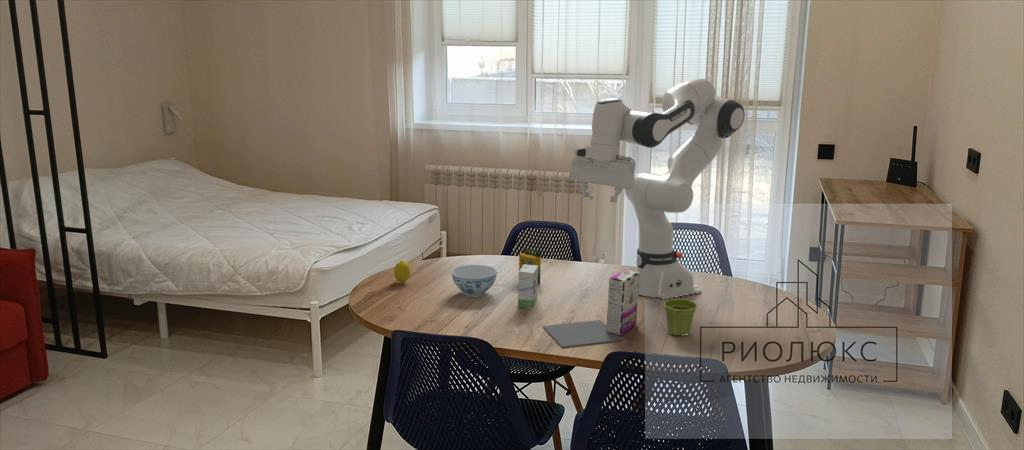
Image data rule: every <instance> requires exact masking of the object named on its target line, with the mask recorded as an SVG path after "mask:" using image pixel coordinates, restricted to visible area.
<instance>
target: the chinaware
mask: <svg viewBox="0 0 1024 450" xmlns="http://www.w3.org/2000/svg"><path fill="white" fill-rule="evenodd" d="M450 272H451V277H452V280H453V282H454V284H455V286H456V287H457V288H458V289H459V290H460V291H461V292H462V293H464V295H465V296H466V297H469V298H479V297H482V296H484V295H485V294H486V293H485V292H487V291H488V290H489V289H491V287H492V286H493V285H494V284H495V282H496V278H497V275H498V270H497V269H496V268H495V267H492V266H489V265H483V264H467V265H461V266H457V267H455V268H453V269H452V270H451V271H450Z"/></svg>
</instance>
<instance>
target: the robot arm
mask: <svg viewBox="0 0 1024 450" xmlns="http://www.w3.org/2000/svg"><path fill="white" fill-rule="evenodd" d="M594 106H595V107H594V109H593V113H592V119H591V120H592V121H591V132H592V134H591V138H590V141H589V145H587V146H583V147H579V148H575V149H574V150H573V156H574V157H573V158H572V160H571V164H570V169H569V177H570V179H571V181H575V182H576V181H577V182H579V186H580V189H581V191H582V194H581V195H582V197H583V198H589V197H590V191H591V190H588V189H587V185H588V183H589V184H595V185H601V186H606V187H613V188H614V191H615V193H614V194H613V195H610V196H609V197H610V200H609V202H611V203H617V202H618V197H619V195H620V194H621V193H622V191H623V189H624V193H625V195H626V197H627V199H628V200H629V201H630V203H631V204H632V207H633V209H634V212H635V216H636V219H637V225H638V247H637V250H636V271H637V272H640V274H639V288H638V295H640V296H644V297H648V296H651V297H650V298H656V297H659V298H658V299H660V298H664V299H663V300H669V299H668V298H671V299H673V298H672V297H675V296H680V295H685V294H692V293H696V292H700V293H701V288H700V286H698V285H697V284H696V283H694V277H693V273H692V271H691V270H689V269H688V268H687V267H685V266H684V264H682V263H681V262H679V261H678V259H679V260H681V259H683V257H684V254H683V253H682V252H680V251H676V250H675V249H673V245H674V227H673V224H672V223H671V222H670V220H669V219H668V218H667V216H666V213H669V214H670V213H671V214H672V213H675V214H677V213H678V214H679V213H684V212H687V210H688V209H689V208H690V207H691V206H692V203H693V200H694V190H693V188H692V187H693V184H694V182H695V180H696V179H697V178H698V177H699V175H700V174H702V172H703V171H704V170H705V169H706V168H707V167H708V166H709V165H710V163H712V161H713V160H714V159H715V158H716V156H717V155H718V154H719V152H720V150H721V148H722V146H723V139H726V138H729V137H731V136H732V134H735V133H736V132H737V131H738V130H739V129H740V128H741V127H742V125H743V124H744V120H745V115H746V114H745V108H744V106H743V105H742V104H741V103H740V102H738V101H736V100H733V99H728V98H725V97H722V96H719V95H716V89H715V87H714V85H713V83H712V82H711V81H710V80H709V79H706V78H694V79H691V80H687V81H683V82H681V83H678V84H676V85H674V86H672V87H670V88H669V89H668V90H666V91H665V92H664V94H663V95H662V100H661V107H662V108H661V109H662V111H663V112H662V113H658V112H645V111H639V110H633V109H632V108H629V107H627V105H625V104H624V102H623V100H622V99H621V98H618V97H604V98H601V99H599V100H598V101H596V104H595V105H594ZM685 124H689V125H693V126H696V127H697V128H696V130H695V132H694V133H693V134H692V135H690V136H689V137H688V138H687V139H686V140H684V141H683V142H682V143H681V145H680V146H678V147H677V148H676V149H675V151H674V152H672V154H670V155H669V157H668V159H667V169H668V171H667V172H666V173H665V174H662V175H661V174H655V173H651V172H637V173H635V171H636V167H637V166H636V161H635V160H634V159H633V158H632V157H630V156H625V155H620V152H621V151H620V150H621V142H623V143H629V144H634V145H639V146H642V147H644V148H645V147H646V148H650V149H652V148H655V147H657V146H659V145H660V144H661V143H662V142H663V141H664V140H665V139H666V138H667V137H668V136H669V135H670V134H672V133H673V132H674V131H676V130H677V129H679V128H681V127H682V126H683V125H685ZM665 212H666V213H665ZM692 295H693V294H692Z"/></svg>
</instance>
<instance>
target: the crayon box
mask: <svg viewBox="0 0 1024 450" xmlns="http://www.w3.org/2000/svg"><path fill="white" fill-rule="evenodd" d="M523 249H524V253H523V252H522V253H520V254H519V255H518V258H519V259H518V261H519V263H518V271H519V270H520V269H521V267H522V266H523V265H524V264H527V265H537V266H538V285H541V257H542V256H541V255H542V254H541V251H538V250H534V249H530V248H526V247H524V248H523ZM532 252H533V253H532Z"/></svg>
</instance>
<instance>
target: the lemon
mask: <svg viewBox="0 0 1024 450" xmlns="http://www.w3.org/2000/svg"><path fill="white" fill-rule="evenodd" d="M393 275H394V278H395V279H396V280H397V281H398V282H400V283H401V284H404V283H405V282H406V281H408V280H409V279H410V277H411V268H410V264H408V263H407V262H406V261H404V260H400V261H398V262H397V263H396V264H395V266H394V271H393Z"/></svg>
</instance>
